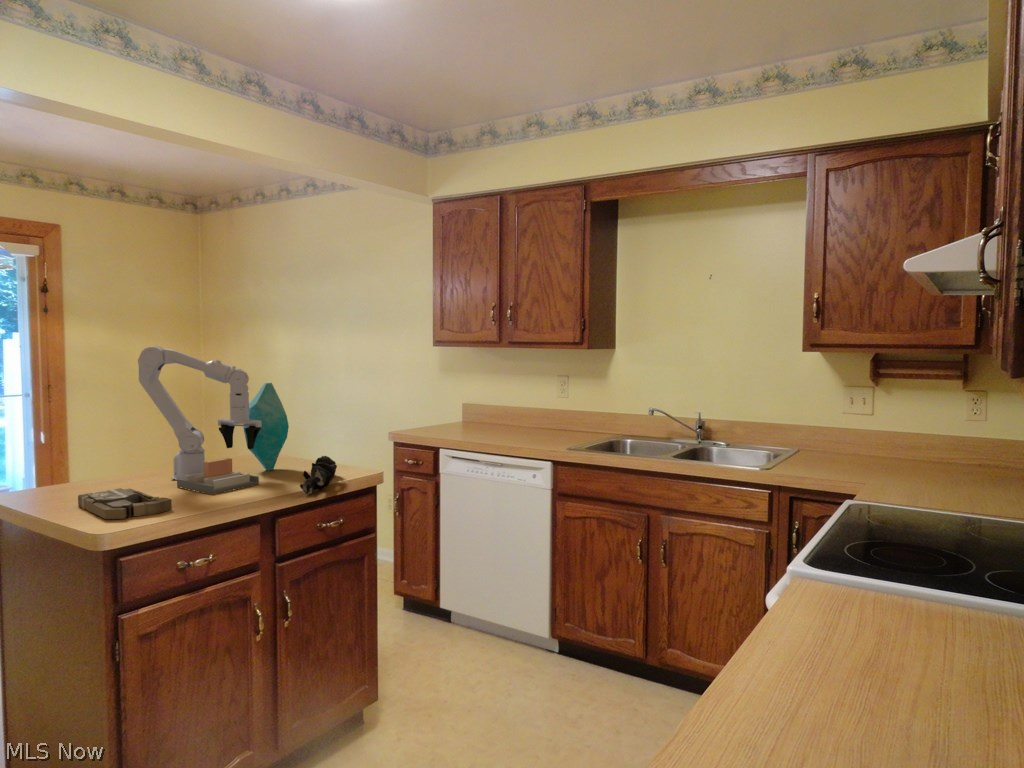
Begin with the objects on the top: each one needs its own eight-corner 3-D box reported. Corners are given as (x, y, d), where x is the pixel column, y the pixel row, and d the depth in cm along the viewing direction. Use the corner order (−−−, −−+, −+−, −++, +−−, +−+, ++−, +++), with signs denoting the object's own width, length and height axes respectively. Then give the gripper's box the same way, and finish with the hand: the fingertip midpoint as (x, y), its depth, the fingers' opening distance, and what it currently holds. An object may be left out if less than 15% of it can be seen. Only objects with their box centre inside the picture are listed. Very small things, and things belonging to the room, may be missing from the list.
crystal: (241, 469, 224) (239, 382, 222) (281, 465, 232) (280, 381, 230) (252, 475, 214) (251, 384, 212) (294, 470, 223) (292, 383, 221)
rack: (177, 487, 196) (176, 475, 196) (224, 478, 210) (224, 467, 210) (211, 494, 187) (211, 482, 187) (258, 484, 201) (258, 473, 201)
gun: (137, 484, 185) (76, 493, 174) (174, 498, 169) (109, 509, 158) (137, 497, 185) (77, 507, 174) (174, 512, 170) (110, 524, 158)
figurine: (296, 498, 187) (293, 470, 187) (320, 476, 217) (317, 452, 217) (326, 494, 188) (323, 467, 187) (346, 473, 218) (343, 449, 217)
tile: (203, 484, 196) (203, 461, 195) (227, 479, 203) (227, 457, 202) (208, 485, 195) (208, 462, 194) (232, 480, 201) (232, 458, 201)
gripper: (211, 407, 208) (212, 449, 209) (252, 408, 205) (253, 451, 206) (225, 405, 215) (226, 445, 216) (265, 406, 212) (265, 447, 213)
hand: (240, 448), depth 211 cm, fingers open, 7 cm apart
